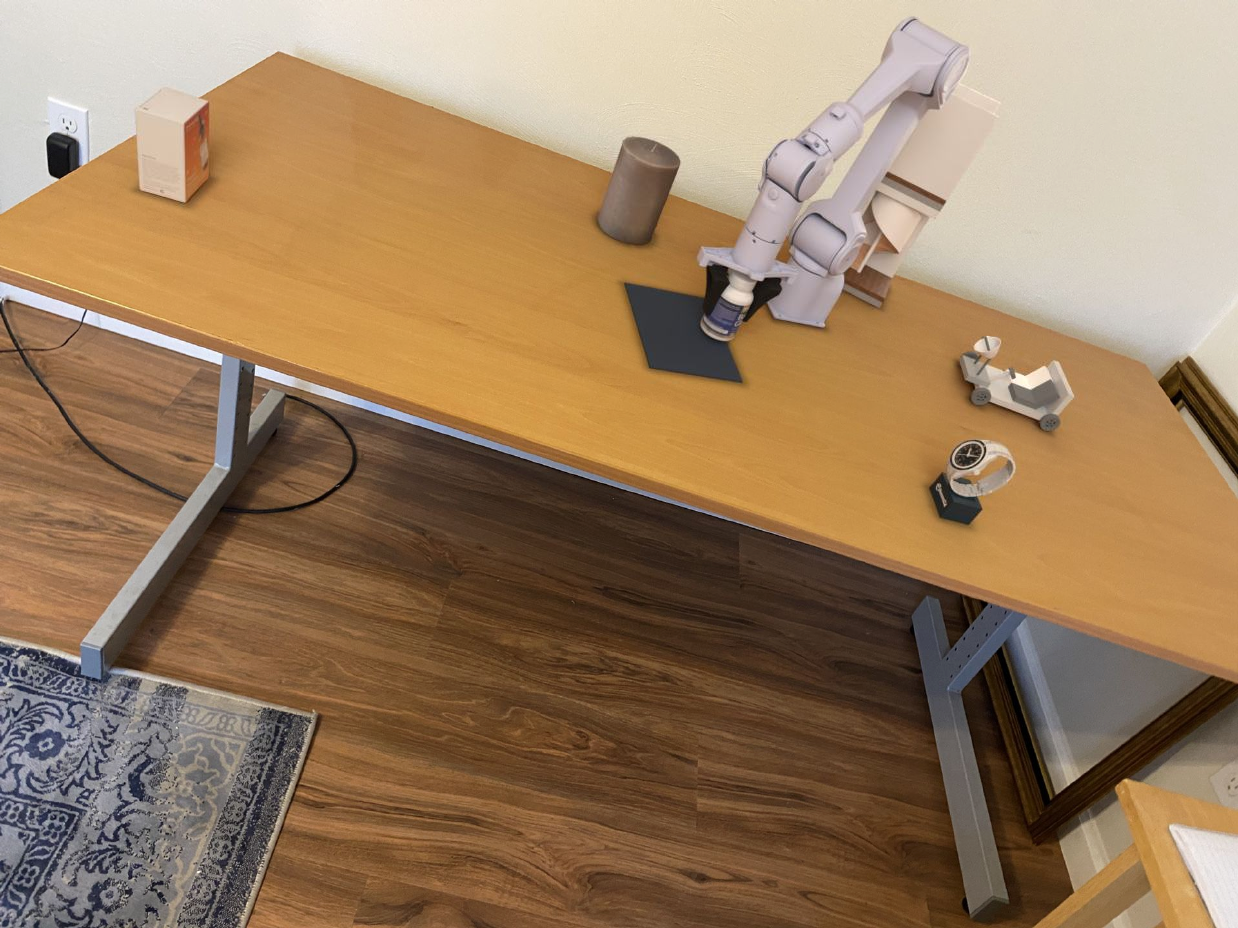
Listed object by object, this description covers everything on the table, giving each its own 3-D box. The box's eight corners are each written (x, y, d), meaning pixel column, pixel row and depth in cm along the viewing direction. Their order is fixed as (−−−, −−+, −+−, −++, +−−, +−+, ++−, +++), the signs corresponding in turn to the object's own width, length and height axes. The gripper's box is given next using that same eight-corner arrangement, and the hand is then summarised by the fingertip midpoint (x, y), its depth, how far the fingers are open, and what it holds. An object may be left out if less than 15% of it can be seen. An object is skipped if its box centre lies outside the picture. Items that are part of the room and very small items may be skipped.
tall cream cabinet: (821, 278, 149) (930, 84, 127) (832, 257, 158) (936, 72, 135) (879, 308, 148) (999, 118, 126) (886, 285, 156) (1001, 103, 134)
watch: (916, 484, 113) (963, 425, 106) (968, 498, 115) (1018, 440, 107) (927, 514, 109) (977, 455, 102) (980, 528, 110) (1033, 470, 103)
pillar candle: (661, 236, 141) (695, 153, 131) (632, 251, 134) (665, 164, 124) (616, 208, 143) (645, 124, 133) (584, 221, 136) (613, 133, 126)
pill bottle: (731, 347, 120) (760, 291, 114) (697, 333, 120) (724, 275, 114) (735, 328, 125) (763, 273, 118) (702, 315, 124) (728, 258, 118)
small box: (185, 205, 105) (183, 124, 98) (138, 191, 104) (133, 108, 97) (210, 178, 111) (210, 100, 104) (166, 164, 110) (163, 85, 103)
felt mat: (708, 300, 131) (708, 298, 130) (742, 382, 117) (742, 381, 117) (624, 283, 126) (624, 282, 126) (649, 368, 112) (650, 366, 112)
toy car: (989, 348, 128) (976, 310, 136) (952, 396, 134) (942, 356, 143) (1093, 388, 129) (1074, 348, 138) (1052, 433, 136) (1036, 392, 144)
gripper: (723, 237, 106) (684, 323, 115) (821, 258, 111) (776, 339, 120) (710, 209, 111) (673, 293, 120) (804, 231, 116) (762, 310, 125)
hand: (724, 314), depth 120 cm, fingers closed on pill bottle, 5 cm apart
